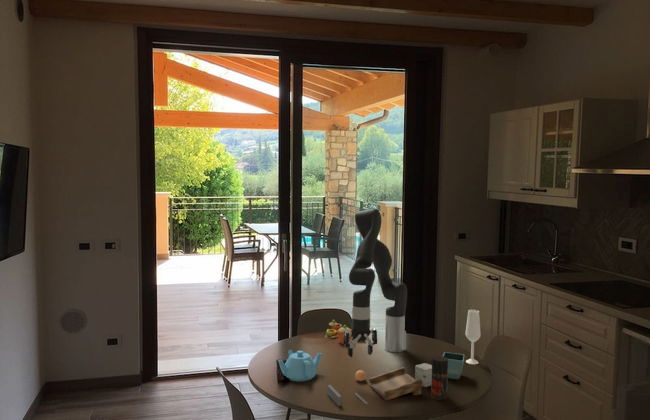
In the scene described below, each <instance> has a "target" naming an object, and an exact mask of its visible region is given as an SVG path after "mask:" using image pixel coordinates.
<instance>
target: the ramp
mask: <svg viewBox="0 0 650 420" xmlns="http://www.w3.org/2000/svg"><path fill="white" fill-rule="evenodd" d="M368 380H369V387H370V388H371V389H372V390H374V391H375V392H376V393H377V394H378V395H379V396H381V398H383V400H385V401H390V400H392V399H395V398H399V397H402V396H403V395H407V394H409V393H410V394H412V396H419V395H422V389H423V386H422V379H419V380H415V377H412V376H411V375H409V374H408V373H407V372H406V368H405V367H404V366H402V367H400V368H397V369H394V370H390V371H388V372H384V373H381V374H379V375H375V376H371V377H370V378H368Z"/></svg>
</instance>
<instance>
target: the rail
mask: <svg viewBox="0 0 650 420" xmlns="http://www.w3.org/2000/svg"><path fill="white" fill-rule="evenodd" d="M326 388H327V392H326V393H327V395H328V397H330V398H331V400H332V401H333V402H334V404H336V405H337V406H338V407H342V397H343V396H342V395H341V394H340V393H339V392H338V391H337V390H336V389H335V388H334V387H333V386H332V385H331V384H328V385H327V387H326Z"/></svg>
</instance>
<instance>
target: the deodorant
mask: <svg viewBox="0 0 650 420" xmlns="http://www.w3.org/2000/svg"><path fill="white" fill-rule="evenodd" d="M431 358H432V359H431V365H432V380H431V385H430V386H431V389H430V390H431V391H430V397H431V398H432V399H434V400H438V401H444V400H446V399H447V398H448V378H447V377H448V358H446V357H443V355H435V356H432V357H431Z"/></svg>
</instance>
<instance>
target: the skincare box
mask: <svg viewBox="0 0 650 420" xmlns="http://www.w3.org/2000/svg"><path fill="white" fill-rule="evenodd" d="M414 367H415V368H414V369H415V371H414V379H415V380H419V379H422V387H424V388H427V387H430V386H431V380H432V364H430V363H427V362H423V363H420V364H416V365H415V366H414Z"/></svg>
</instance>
